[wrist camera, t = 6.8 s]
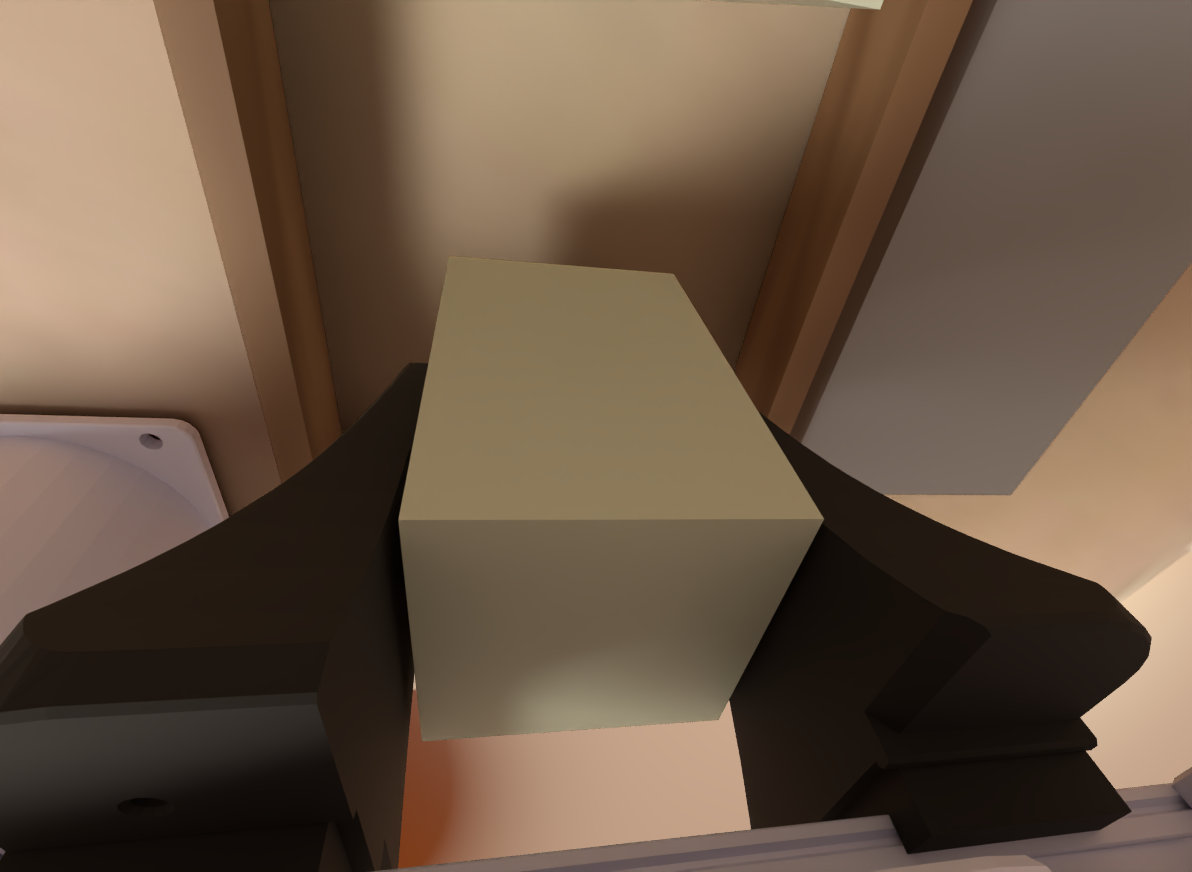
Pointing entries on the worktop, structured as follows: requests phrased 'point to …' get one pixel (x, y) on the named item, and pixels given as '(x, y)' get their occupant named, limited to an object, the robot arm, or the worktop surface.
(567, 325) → the olive beige rectangular block
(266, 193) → the walnut tray
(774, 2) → the plain box
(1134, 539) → the worktop surface
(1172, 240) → the slate board
